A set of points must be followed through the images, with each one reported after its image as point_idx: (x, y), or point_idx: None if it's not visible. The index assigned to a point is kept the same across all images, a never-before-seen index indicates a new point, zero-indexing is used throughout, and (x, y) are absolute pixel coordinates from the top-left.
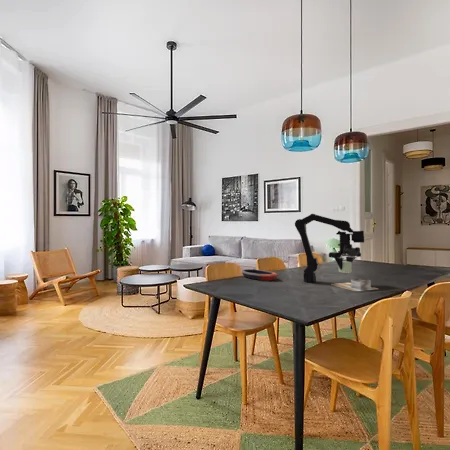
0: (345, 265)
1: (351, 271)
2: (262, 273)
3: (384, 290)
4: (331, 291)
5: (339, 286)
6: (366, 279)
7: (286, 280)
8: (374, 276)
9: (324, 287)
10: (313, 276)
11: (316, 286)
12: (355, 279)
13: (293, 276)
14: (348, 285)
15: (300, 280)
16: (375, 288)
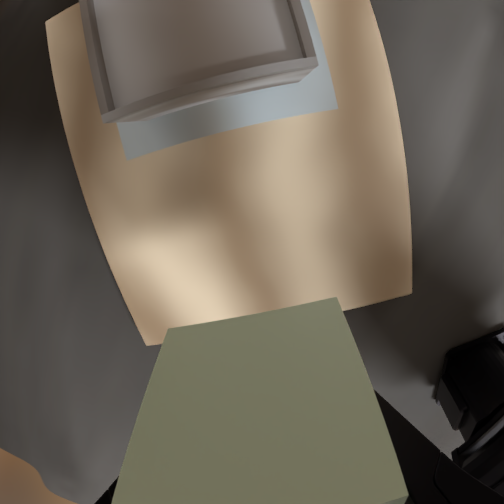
0: (342, 426)
1: (166, 340)
2: None
3: (12, 46)
4: (498, 69)
5: (395, 165)
6: (86, 15)
7: None
8: (6, 437)
9: (478, 229)
10: (495, 385)
11: (499, 274)
12: (223, 77)
13: None
14: (263, 201)
15: (442, 435)
16: (61, 33)
